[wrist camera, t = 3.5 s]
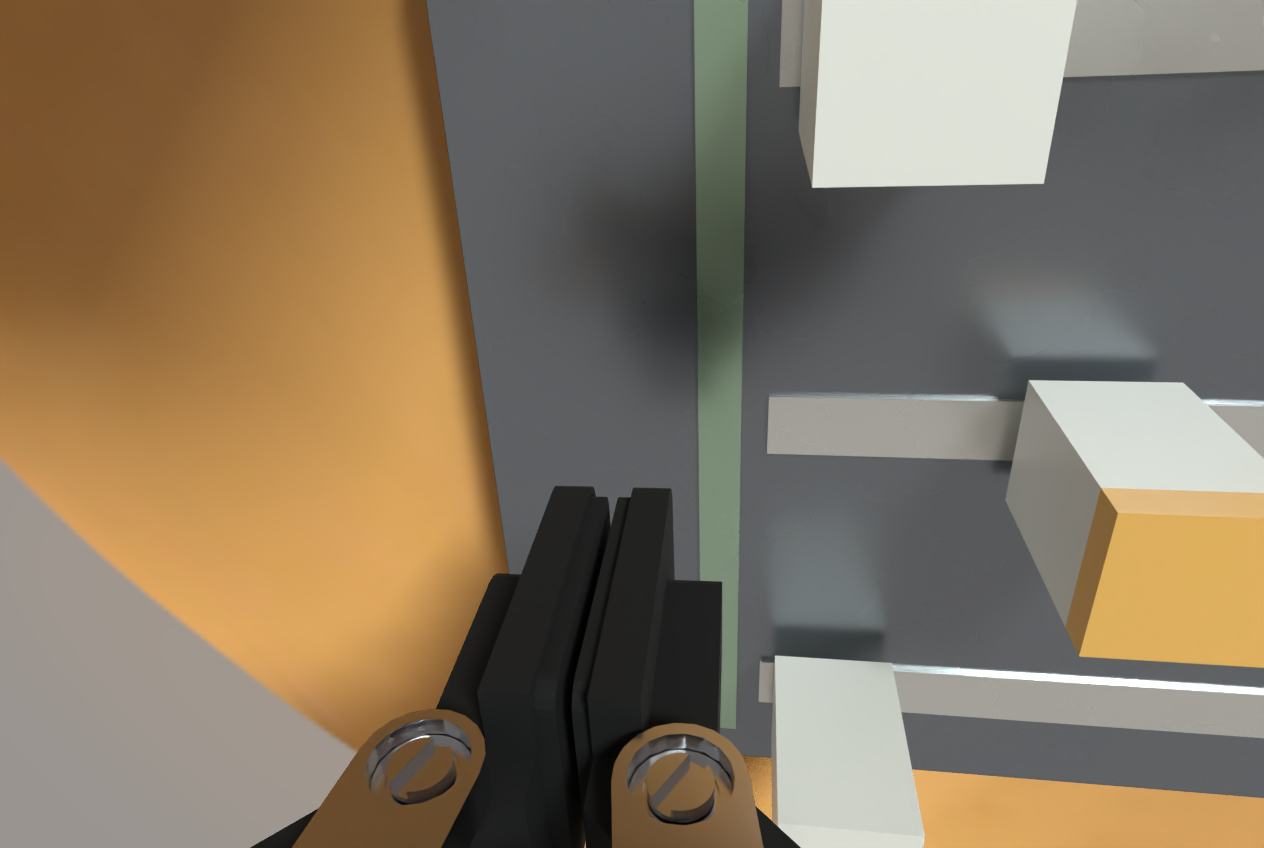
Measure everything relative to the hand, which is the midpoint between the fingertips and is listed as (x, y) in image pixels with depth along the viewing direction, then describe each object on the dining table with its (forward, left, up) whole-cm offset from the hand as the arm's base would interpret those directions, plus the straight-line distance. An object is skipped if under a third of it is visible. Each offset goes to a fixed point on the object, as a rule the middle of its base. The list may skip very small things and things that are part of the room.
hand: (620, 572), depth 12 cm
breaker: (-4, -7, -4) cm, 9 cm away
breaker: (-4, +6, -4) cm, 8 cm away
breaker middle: (-8, 0, -4) cm, 9 cm away
